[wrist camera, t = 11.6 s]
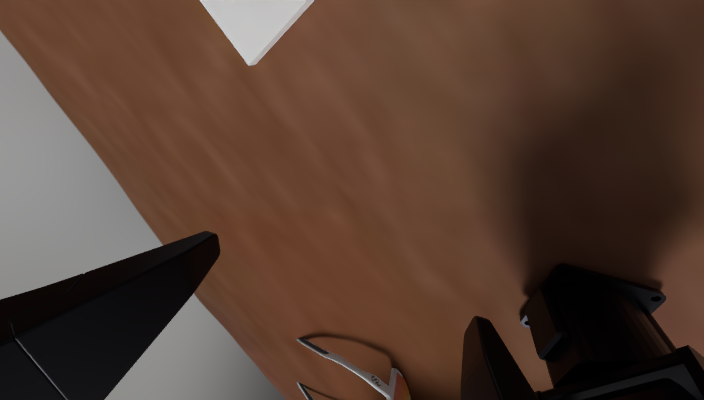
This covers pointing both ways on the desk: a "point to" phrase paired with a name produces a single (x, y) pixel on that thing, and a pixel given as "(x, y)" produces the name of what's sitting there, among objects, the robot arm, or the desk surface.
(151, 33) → the desk surface
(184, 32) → the desk surface
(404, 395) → the sunglasses
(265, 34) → the white block board
